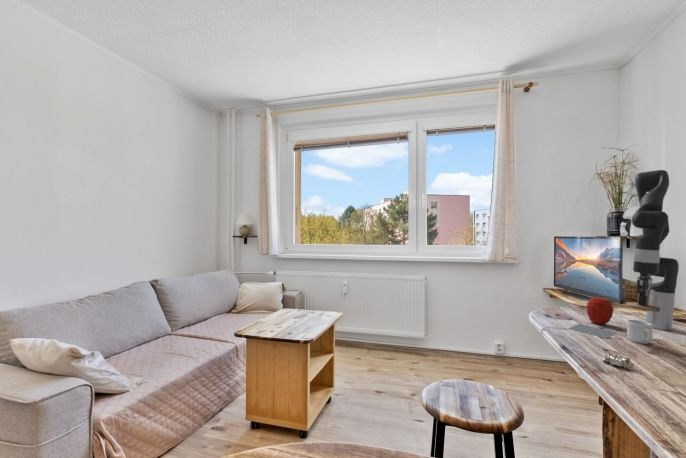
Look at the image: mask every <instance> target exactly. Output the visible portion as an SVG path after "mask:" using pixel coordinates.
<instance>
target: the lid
mask: <svg viewBox="0 0 686 458" xmlns="http://www.w3.org/2000/svg"><path fill="white" fill-rule="evenodd" d="M638 300H639V295H637V301H638ZM625 305H626V307H627V308H631V309H635V310H640V311H644V312H645V311H646V312H647V311H654V312H659V311H660V307H657V306H654V305H649V293H647V298H646V305H641V304H638V302H636V301H635V302H634V301H632V302H631V301H627V302H626V304H625Z"/></svg>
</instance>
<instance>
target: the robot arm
mask: <svg viewBox="0 0 686 458" xmlns="http://www.w3.org/2000/svg"><path fill="white" fill-rule="evenodd" d="M669 187H670V177H669V173H668V171H667V170H664V169H658V170H651V171H643V172H638V173H636V174H635V188H636V193H637V199H638V202H639V203H638V204H639V208H637V210H636V211H635V212H634V213H633V215H632V218H631V224H632V225H633V226H634V227H635V228H636V229H641V231H642V234H638V235H637V237H636V242H635V251H634V257H633V266H632V267H633V268H632V269H633V272H635V273H639V276H638V277H637V280H636V284H637V285H636V286H637V287H636V288H637V291H636V293H637V294H638V295H639V300H638V299H637V303H638V304H641V305H646V298H647V293H649V305H654V306H657V307H660V311H659V312H654V311H646V316H645V322H647V323H650V324H652V325H653V328H652V329H657V330H661V331H672V330H673V321H674V309H675V296H676V289H677V284H678V283H677V282H678V274H679V270H680V269H679V266H680V265H679V262H678V260H677V259H675V258H670V257H661V255H660V249H661V247H660V246H661V244H662V243H663V241H664V240H665V239H667V237H668V235H669V233H670V223H669V215H668V213H666V212H665V211H663V207H664V206H663V205H664V199H665V197H666V194H667V191H668V190H669ZM651 276H652V277H660V278H663V280H662V281H660V282H655V283H653V278H652V277H651ZM638 295H637V296H638Z"/></svg>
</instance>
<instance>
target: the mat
mask: <svg viewBox="0 0 686 458" xmlns="http://www.w3.org/2000/svg"><path fill="white" fill-rule="evenodd" d="M567 330H571V331H575V332H579V333H583V334H586V335H587V334H588V335H592V336H594V337H598V338H599V337H600V338H602V339H606V340H607V339H609V338H611V337H612V336H614V335H615V334H618V333H617V331H613V330H608V329H604V328H599V327H595V326H590V325H587V324H586V325H585V324H582V323H577V324H575V325H573V326H570V327H569V328H567Z"/></svg>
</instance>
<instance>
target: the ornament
mask: <svg viewBox="0 0 686 458" xmlns="http://www.w3.org/2000/svg"><path fill="white" fill-rule="evenodd" d="M602 362H605V363H606V364H611V365H614V366H618V367H622V368H624V369H625V370H629V371H634V369H635V363H632V359H631V358H630V357H625V356H623V355H617V354H615V353H612V352H610V351H608V354H607V355H606V354H605V355H604V356H603V359H602Z"/></svg>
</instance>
